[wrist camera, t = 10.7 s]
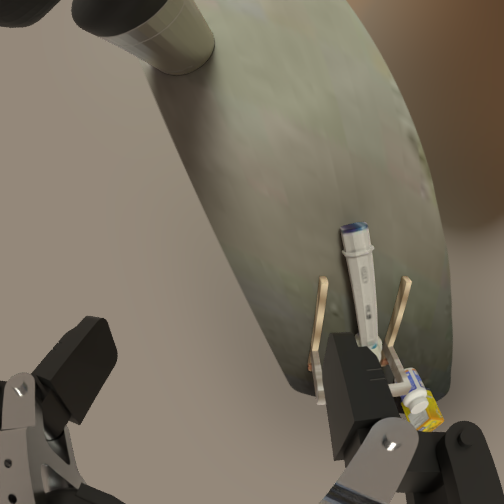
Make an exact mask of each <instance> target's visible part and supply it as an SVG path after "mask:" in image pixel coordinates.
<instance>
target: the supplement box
mask: <svg viewBox="0 0 504 504" xmlns="http://www.w3.org/2000/svg"><path fill="white" fill-rule="evenodd" d="M425 389H426V391H427V396H426V398H427V400H428V403H429V404H428V406H427V408H426V409H425V410H423V411H422V412H420V413H417V414H412V413H411V412H410V409H409V407H406V406H404V404H403V402H402V400H400V402H401V405H402V408H403V410H404V413H405V415H406V418H407V421H408V422H410V423H411V424H412V425H413V426H414V427H415V428H416V430H418V431H423V432H432V431H433V430H434V429H435V428H437V427H438V426H439V425H440V424H441V423H443V422H444V419H443V417H442V415H441V412H440V410H439V408H438V406H437V404H436V402H435V400H434V398H433V396H432V394H431V392H430V390H429V389H428V388H425Z"/></svg>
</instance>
